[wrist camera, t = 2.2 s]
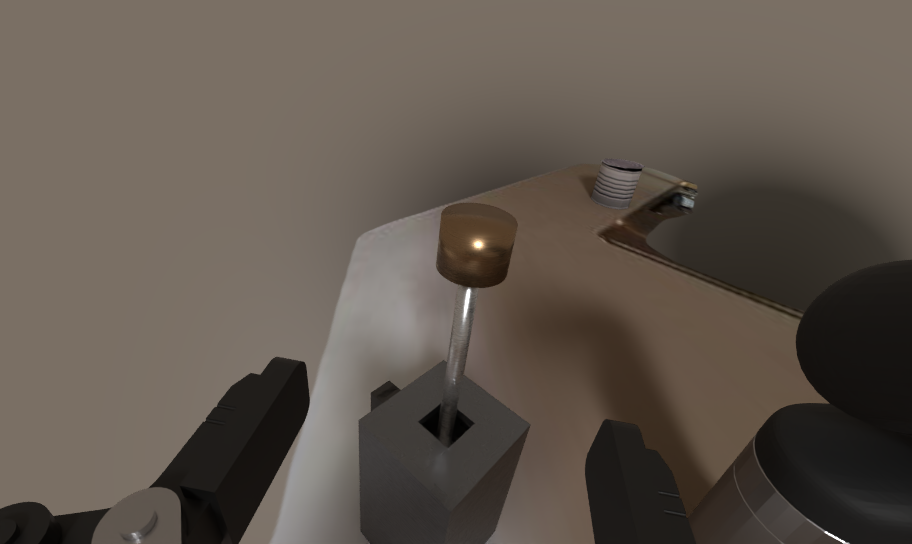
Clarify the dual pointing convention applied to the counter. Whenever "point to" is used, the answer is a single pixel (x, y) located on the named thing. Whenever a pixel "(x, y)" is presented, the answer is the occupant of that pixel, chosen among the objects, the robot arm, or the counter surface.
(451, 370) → the plunger
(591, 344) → the counter surface
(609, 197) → the can
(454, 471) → the square hole block
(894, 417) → the robot arm
